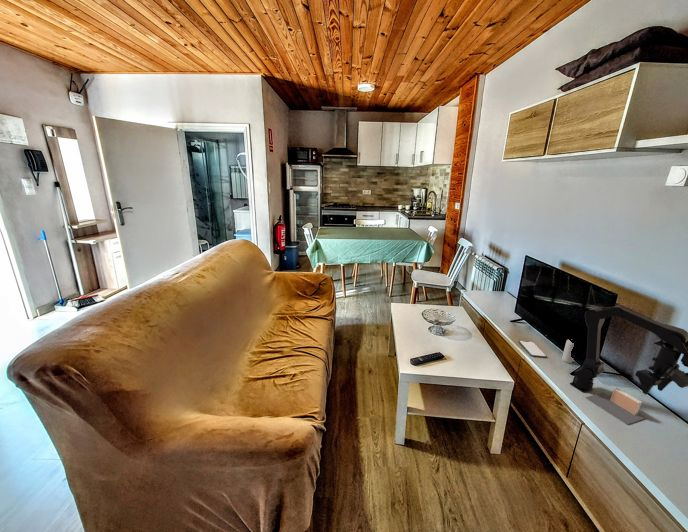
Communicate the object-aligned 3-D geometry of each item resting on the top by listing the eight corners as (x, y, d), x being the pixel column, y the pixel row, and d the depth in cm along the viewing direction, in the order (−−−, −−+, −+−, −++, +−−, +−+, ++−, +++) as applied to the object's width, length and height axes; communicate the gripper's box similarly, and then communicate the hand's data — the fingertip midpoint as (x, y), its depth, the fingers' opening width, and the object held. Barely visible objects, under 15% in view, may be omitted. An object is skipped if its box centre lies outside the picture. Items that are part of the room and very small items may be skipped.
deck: (610, 400, 133) (613, 388, 131) (613, 399, 134) (617, 388, 132) (634, 414, 125) (638, 402, 123) (637, 413, 126) (642, 402, 124)
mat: (585, 398, 134) (585, 397, 134) (603, 393, 138) (603, 392, 138) (627, 424, 120) (627, 423, 120) (645, 418, 124) (646, 417, 124)
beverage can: (559, 359, 164) (565, 340, 161) (564, 357, 166) (569, 338, 163) (569, 364, 160) (575, 344, 157) (573, 362, 163) (579, 342, 159)
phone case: (547, 359, 165) (532, 343, 181) (547, 356, 165) (533, 341, 180) (530, 357, 166) (517, 342, 181) (531, 355, 166) (517, 340, 181)
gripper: (679, 375, 106) (662, 410, 111) (710, 368, 111) (693, 402, 116) (641, 357, 116) (627, 390, 121) (671, 351, 122) (657, 383, 126)
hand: (652, 392), depth 121 cm, fingers open, 9 cm apart
